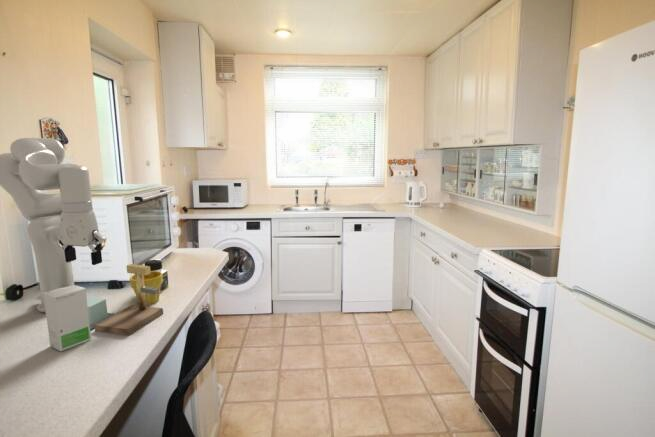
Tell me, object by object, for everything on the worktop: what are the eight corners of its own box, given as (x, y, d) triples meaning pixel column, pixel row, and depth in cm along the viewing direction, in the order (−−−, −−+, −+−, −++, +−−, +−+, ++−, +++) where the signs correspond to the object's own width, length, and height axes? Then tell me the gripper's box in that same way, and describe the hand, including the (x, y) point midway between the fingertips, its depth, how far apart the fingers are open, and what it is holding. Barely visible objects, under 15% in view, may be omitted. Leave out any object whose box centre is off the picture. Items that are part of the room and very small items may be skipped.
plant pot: (151, 308, 126) (148, 281, 124) (125, 306, 128) (122, 279, 127) (170, 296, 136) (168, 271, 134) (146, 294, 138) (143, 269, 137)
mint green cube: (76, 323, 114) (73, 305, 113) (92, 315, 120) (90, 297, 119) (92, 325, 113) (89, 306, 112) (107, 316, 119) (105, 299, 118)
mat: (65, 328, 112) (65, 326, 112) (95, 313, 123) (95, 311, 123) (89, 331, 110) (89, 329, 110) (118, 315, 121) (118, 314, 121)
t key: (155, 312, 117) (151, 269, 115) (130, 307, 121) (125, 265, 119) (161, 309, 119) (157, 267, 117) (136, 304, 124) (132, 263, 121)
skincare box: (60, 352, 99) (51, 297, 96) (48, 346, 102) (40, 292, 99) (93, 339, 106) (86, 287, 103) (81, 333, 109) (74, 283, 106)
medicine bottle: (160, 293, 139) (157, 263, 137) (142, 293, 140) (138, 263, 137) (169, 286, 146) (166, 257, 144) (151, 286, 147) (148, 257, 144)
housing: (95, 331, 110) (94, 325, 110) (132, 310, 125) (131, 304, 124) (129, 335, 108) (128, 329, 107) (163, 313, 122) (162, 308, 122)
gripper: (42, 208, 108) (50, 263, 112) (90, 211, 104) (97, 268, 108) (65, 204, 116) (72, 256, 119) (111, 207, 112) (117, 261, 115)
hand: (84, 262), depth 113 cm, fingers open, 9 cm apart
